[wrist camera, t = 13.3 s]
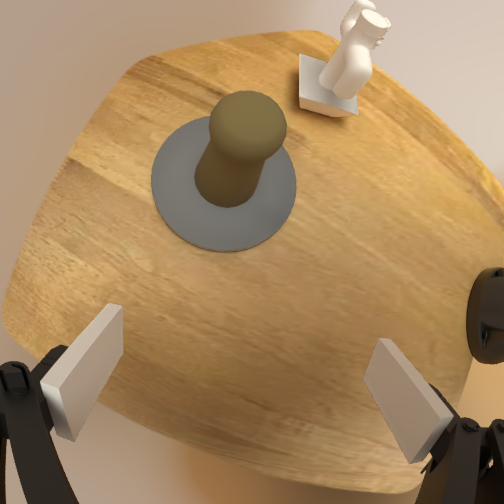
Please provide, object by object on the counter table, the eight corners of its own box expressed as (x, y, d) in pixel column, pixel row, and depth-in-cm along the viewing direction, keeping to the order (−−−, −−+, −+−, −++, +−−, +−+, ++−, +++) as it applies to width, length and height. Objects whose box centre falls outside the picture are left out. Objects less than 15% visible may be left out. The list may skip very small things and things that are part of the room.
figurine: (287, 121, 32) (348, 30, 18) (289, 66, 34) (337, -19, 19) (344, 137, 34) (421, 64, 19) (340, 81, 35) (399, 9, 21)
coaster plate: (312, 163, 32) (338, 137, 26) (254, 279, 29) (274, 273, 23) (200, 101, 30) (206, 65, 24) (124, 206, 27) (111, 182, 21)
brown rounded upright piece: (181, 183, 27) (184, 118, 16) (218, 138, 29) (240, 64, 18) (235, 220, 28) (269, 173, 17) (269, 172, 29) (314, 111, 19)
